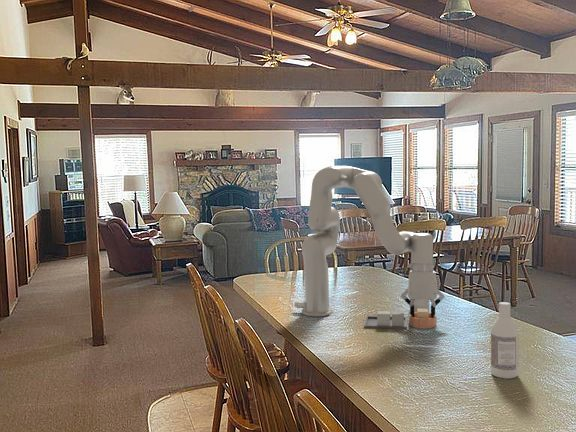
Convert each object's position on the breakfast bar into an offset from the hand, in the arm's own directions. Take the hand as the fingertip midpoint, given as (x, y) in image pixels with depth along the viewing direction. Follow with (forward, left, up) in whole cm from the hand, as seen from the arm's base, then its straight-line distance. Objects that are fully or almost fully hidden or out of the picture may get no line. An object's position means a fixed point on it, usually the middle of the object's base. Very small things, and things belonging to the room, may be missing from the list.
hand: (422, 316), depth 202 cm
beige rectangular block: (0, 0, -3) cm, 3 cm away
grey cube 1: (-14, -4, -3) cm, 15 cm away
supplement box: (-1, +18, -4) cm, 19 cm away
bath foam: (+20, -46, -4) cm, 50 cm away
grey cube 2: (-9, -4, -3) cm, 10 cm away
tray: (-13, 0, -3) cm, 14 cm away
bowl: (0, 0, -3) cm, 3 cm away
